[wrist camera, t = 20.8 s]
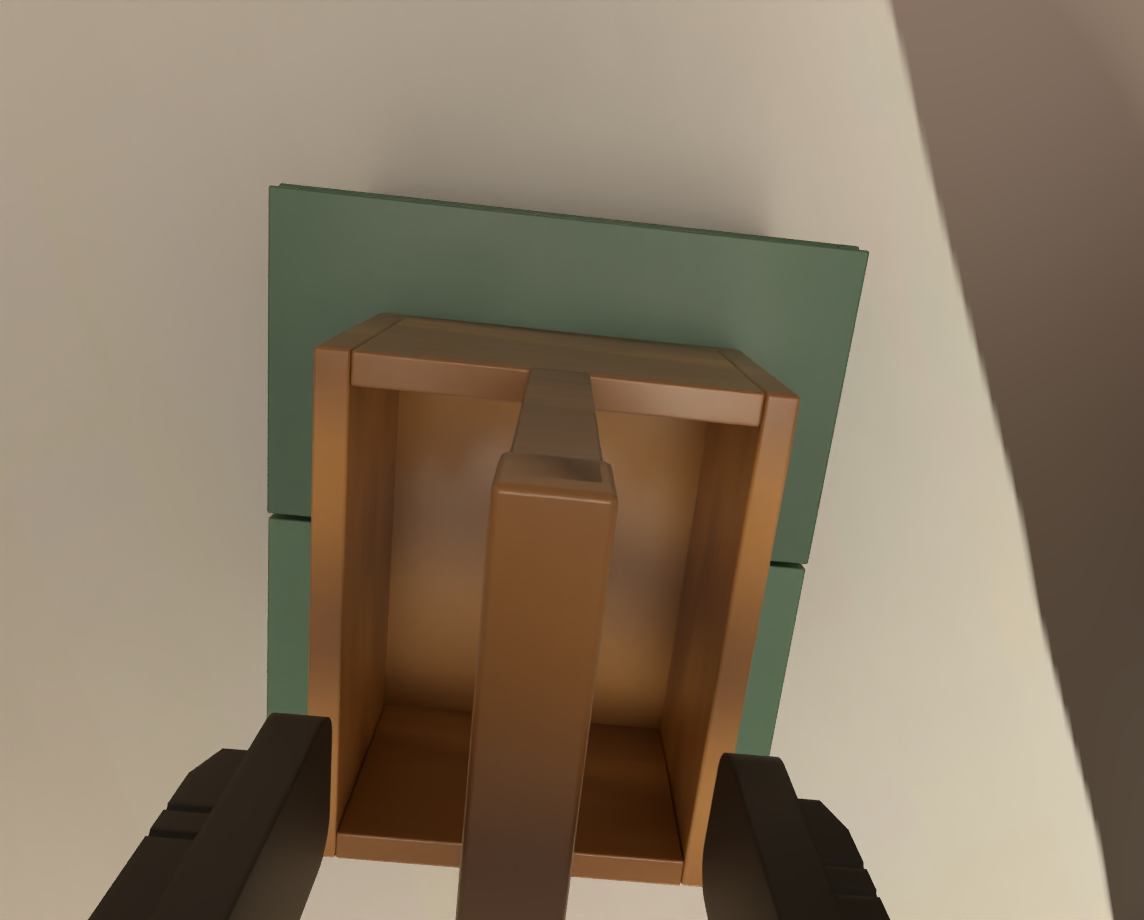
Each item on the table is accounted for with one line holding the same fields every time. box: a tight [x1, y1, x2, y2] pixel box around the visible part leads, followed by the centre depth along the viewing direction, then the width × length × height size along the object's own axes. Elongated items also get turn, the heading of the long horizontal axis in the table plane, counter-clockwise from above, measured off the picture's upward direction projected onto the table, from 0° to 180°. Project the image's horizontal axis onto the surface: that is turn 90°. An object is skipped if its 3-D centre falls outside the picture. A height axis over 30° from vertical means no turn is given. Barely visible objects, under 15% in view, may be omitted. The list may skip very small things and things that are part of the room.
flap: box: [267, 513, 805, 756], centre depth 21 cm, size 7×13×1 cm, turn 84°
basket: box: [308, 313, 800, 920], centre depth 14 cm, size 10×8×11 cm
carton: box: [267, 183, 869, 564], centre depth 24 cm, size 15×13×9 cm
